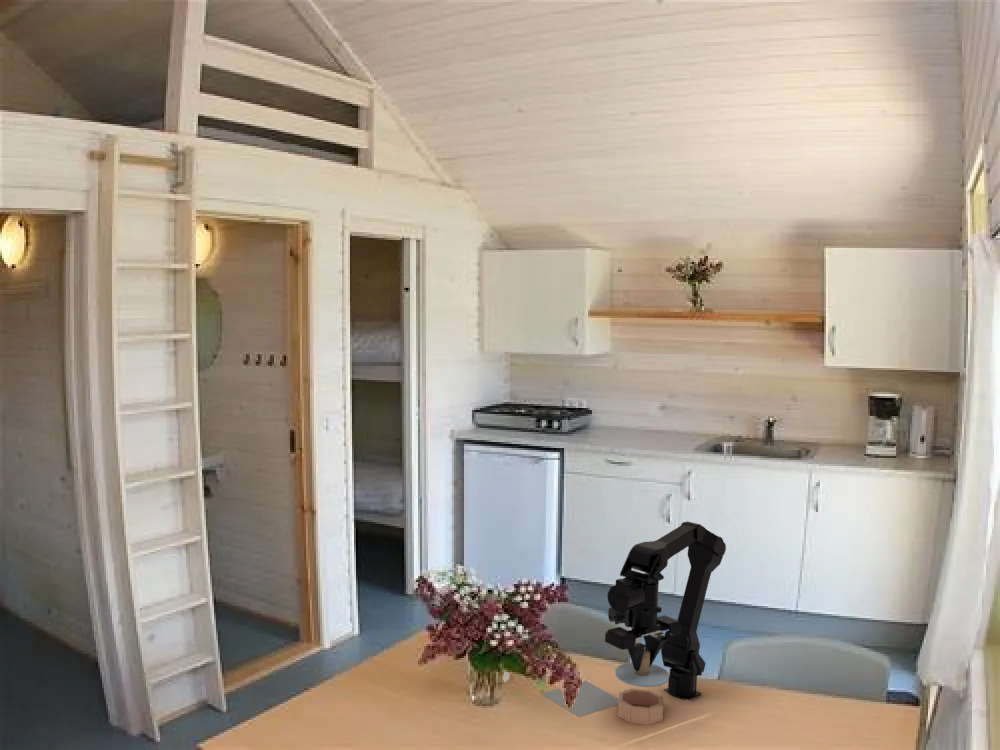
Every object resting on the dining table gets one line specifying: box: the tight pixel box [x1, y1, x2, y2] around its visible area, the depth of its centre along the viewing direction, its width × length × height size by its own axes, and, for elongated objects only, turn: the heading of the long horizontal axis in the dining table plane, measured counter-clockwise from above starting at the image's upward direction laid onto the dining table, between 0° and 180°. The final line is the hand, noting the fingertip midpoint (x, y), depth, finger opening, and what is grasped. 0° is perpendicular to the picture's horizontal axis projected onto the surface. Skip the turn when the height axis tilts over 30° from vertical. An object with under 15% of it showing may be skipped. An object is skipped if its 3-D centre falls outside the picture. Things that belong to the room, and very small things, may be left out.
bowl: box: [617, 688, 664, 726], centre depth 200 cm, size 10×10×4 cm
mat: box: [540, 680, 618, 718], centre depth 207 cm, size 14×14×1 cm
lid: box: [614, 649, 670, 688], centre depth 199 cm, size 12×12×6 cm
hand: (642, 668), depth 199 cm, fingers closed on lid, 3 cm apart
